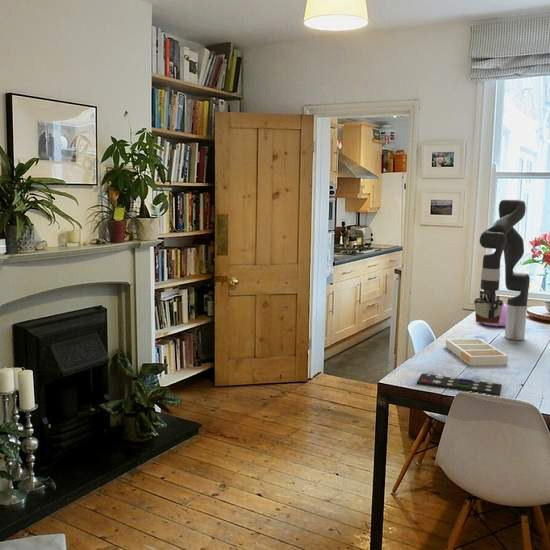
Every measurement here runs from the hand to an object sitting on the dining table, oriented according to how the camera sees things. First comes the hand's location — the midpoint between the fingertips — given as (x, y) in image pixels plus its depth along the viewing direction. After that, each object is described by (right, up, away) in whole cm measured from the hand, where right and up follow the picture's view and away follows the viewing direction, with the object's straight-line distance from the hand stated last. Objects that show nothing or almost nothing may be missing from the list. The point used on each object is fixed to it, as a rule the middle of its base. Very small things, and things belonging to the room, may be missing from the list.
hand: (487, 316), depth 259 cm
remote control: (-21, -25, -28) cm, 43 cm away
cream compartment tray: (-1, -18, +12) cm, 22 cm away
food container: (0, -2, +1) cm, 3 cm away
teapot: (+32, -10, +71) cm, 79 cm away
